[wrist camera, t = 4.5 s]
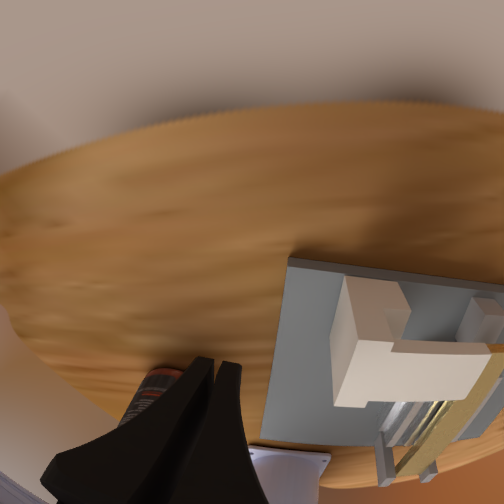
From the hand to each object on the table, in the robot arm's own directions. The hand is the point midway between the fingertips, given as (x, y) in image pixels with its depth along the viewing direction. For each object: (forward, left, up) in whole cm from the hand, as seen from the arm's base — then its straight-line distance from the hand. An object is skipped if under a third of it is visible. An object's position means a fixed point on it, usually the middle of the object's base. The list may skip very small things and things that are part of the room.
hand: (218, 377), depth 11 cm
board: (-6, -13, -8) cm, 16 cm away
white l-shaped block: (0, -8, -6) cm, 10 cm away
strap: (-6, -14, -3) cm, 16 cm away
